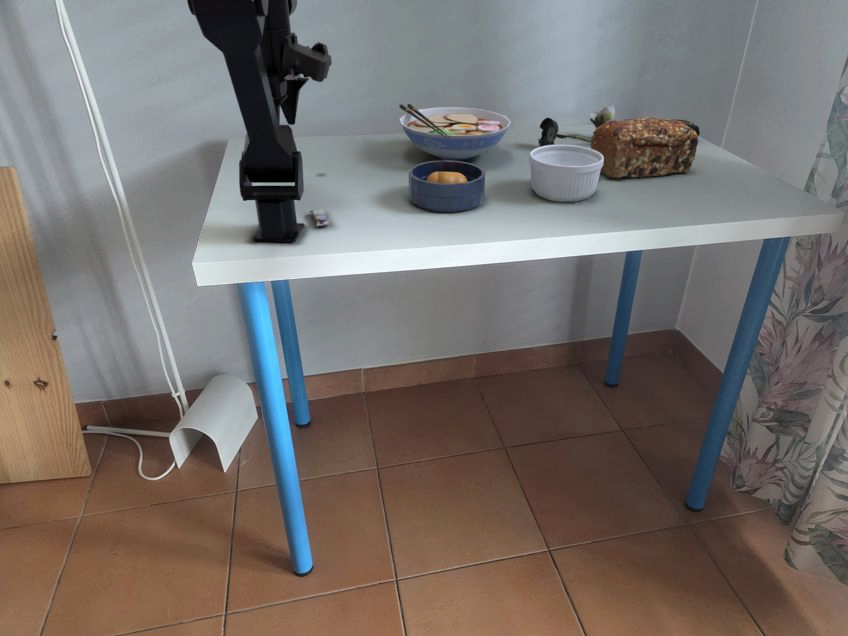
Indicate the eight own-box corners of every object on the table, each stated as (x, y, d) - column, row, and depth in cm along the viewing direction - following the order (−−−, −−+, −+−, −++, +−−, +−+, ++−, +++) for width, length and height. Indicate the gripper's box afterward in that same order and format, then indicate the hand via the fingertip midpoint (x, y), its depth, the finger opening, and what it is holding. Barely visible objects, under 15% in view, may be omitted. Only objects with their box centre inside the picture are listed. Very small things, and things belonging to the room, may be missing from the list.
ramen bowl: (529, 168, 135) (533, 127, 131) (421, 180, 128) (421, 136, 123) (481, 136, 155) (483, 99, 150) (385, 144, 147) (384, 105, 143)
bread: (611, 181, 130) (619, 129, 124) (586, 165, 138) (592, 115, 133) (694, 174, 135) (704, 123, 130) (664, 158, 143) (673, 110, 138)
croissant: (470, 202, 117) (471, 177, 115) (421, 200, 117) (421, 175, 115) (471, 193, 121) (472, 169, 119) (423, 191, 121) (423, 167, 119)
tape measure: (670, 143, 153) (674, 126, 151) (657, 135, 159) (660, 119, 157) (698, 142, 155) (701, 125, 153) (683, 134, 160) (687, 118, 158)
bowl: (483, 214, 114) (484, 186, 111) (405, 211, 114) (404, 183, 111) (484, 188, 125) (485, 161, 122) (413, 185, 125) (413, 159, 122)
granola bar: (309, 213, 112) (308, 207, 111) (323, 212, 113) (322, 206, 112) (316, 228, 107) (316, 222, 106) (331, 226, 107) (330, 220, 107)
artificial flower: (530, 149, 151) (532, 102, 148) (612, 151, 160) (615, 107, 158) (551, 149, 143) (553, 99, 141) (636, 151, 152) (639, 104, 150)
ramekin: (542, 207, 117) (545, 168, 113) (516, 183, 128) (519, 146, 124) (611, 202, 120) (616, 163, 117) (580, 178, 131) (584, 142, 127)
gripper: (307, 37, 94) (318, 150, 102) (337, 20, 109) (344, 119, 118) (229, 35, 94) (246, 147, 102) (269, 18, 110) (281, 116, 118)
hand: (283, 131), depth 110 cm, fingers open, 9 cm apart
